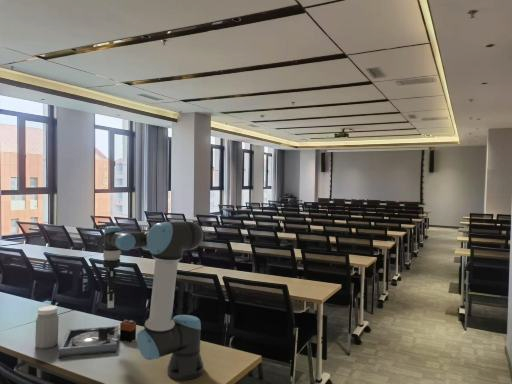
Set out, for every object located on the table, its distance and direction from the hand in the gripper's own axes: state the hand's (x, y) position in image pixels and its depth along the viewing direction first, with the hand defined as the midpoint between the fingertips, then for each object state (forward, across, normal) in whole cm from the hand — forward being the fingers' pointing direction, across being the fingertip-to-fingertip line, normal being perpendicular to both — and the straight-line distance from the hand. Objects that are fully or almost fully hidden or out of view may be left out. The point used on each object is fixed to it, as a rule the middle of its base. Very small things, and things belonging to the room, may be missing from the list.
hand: (110, 303), depth 180 cm
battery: (+22, +8, -9) cm, 25 cm away
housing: (+22, +7, +8) cm, 24 cm away
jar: (+22, +12, +28) cm, 37 cm away
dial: (+20, +7, +8) cm, 23 cm away
